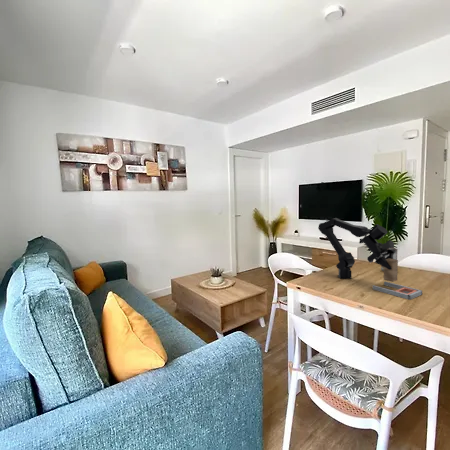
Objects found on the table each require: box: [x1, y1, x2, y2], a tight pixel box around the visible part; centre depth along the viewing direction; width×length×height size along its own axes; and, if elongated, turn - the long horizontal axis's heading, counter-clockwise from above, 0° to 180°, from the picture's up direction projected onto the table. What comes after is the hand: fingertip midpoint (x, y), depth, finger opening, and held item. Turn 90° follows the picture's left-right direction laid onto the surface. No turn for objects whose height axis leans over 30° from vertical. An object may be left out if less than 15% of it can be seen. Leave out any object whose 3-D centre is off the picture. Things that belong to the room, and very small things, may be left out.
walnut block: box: [383, 258, 399, 283], centre depth 132 cm, size 4×4×11 cm
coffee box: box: [380, 246, 398, 272], centre depth 164 cm, size 9×6×16 cm
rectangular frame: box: [395, 287, 416, 295], centre depth 127 cm, size 6×9×2 cm, turn 119°
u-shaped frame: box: [372, 280, 423, 301], centre depth 131 cm, size 18×12×2 cm, turn 29°
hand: (393, 268), depth 131 cm, fingers closed on walnut block, 4 cm apart
